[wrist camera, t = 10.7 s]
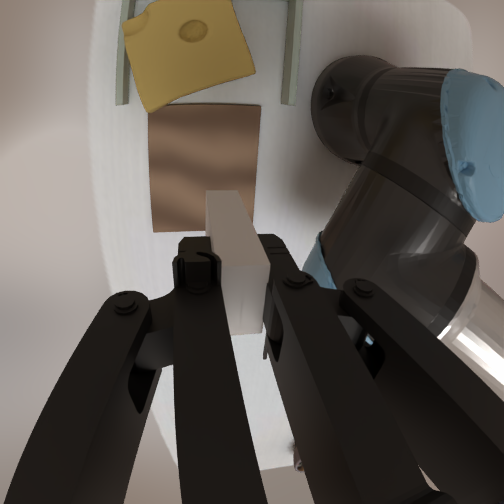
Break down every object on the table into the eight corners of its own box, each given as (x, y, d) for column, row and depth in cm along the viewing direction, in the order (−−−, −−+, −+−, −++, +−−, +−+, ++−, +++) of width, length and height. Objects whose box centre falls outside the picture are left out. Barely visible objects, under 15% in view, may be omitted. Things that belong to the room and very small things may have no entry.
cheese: (131, 35, 25) (109, 15, 16) (221, 5, 25) (231, -24, 16) (157, 110, 30) (143, 116, 22) (245, 80, 30) (265, 76, 22)
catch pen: (129, -8, 22) (124, -15, 19) (295, -3, 25) (303, -10, 23) (121, 104, 29) (115, 105, 26) (287, 104, 33) (295, 105, 30)
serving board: (149, 106, 30) (148, 106, 29) (260, 106, 32) (261, 106, 32) (153, 230, 38) (153, 232, 37) (251, 227, 40) (252, 229, 40)
